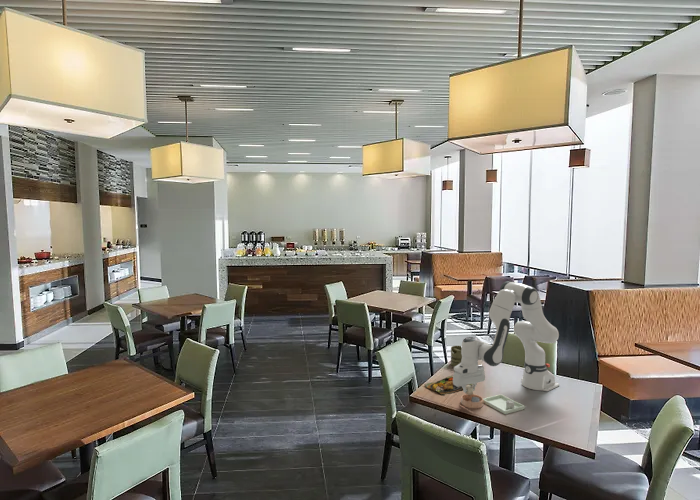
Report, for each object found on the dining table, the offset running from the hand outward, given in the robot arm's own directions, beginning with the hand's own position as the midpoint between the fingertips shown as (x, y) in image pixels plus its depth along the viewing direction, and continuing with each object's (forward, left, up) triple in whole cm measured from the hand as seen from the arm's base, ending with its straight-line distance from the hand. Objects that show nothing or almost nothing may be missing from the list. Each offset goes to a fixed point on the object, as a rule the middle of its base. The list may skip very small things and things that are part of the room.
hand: (469, 391), depth 225 cm
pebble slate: (0, +5, -6) cm, 8 cm away
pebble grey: (-14, +16, -6) cm, 22 cm away
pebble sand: (0, 0, -1) cm, 1 cm away
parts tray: (-14, +11, -7) cm, 19 cm away
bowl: (0, +2, -7) cm, 7 cm away
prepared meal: (-6, -23, -7) cm, 25 cm away
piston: (-36, -51, -7) cm, 63 cm away
